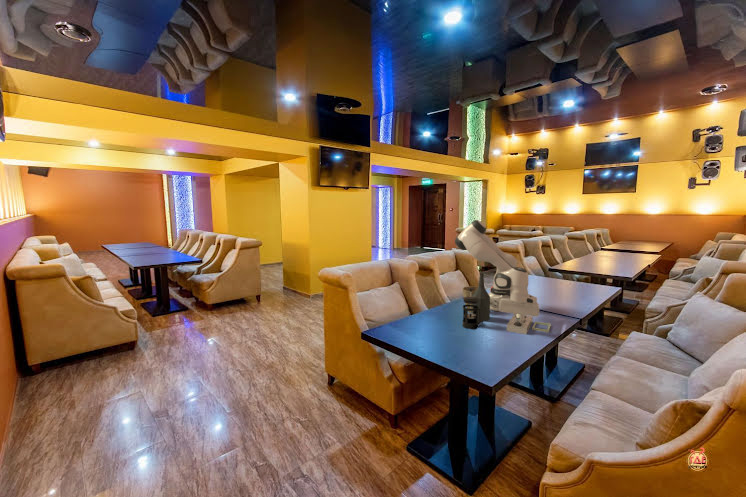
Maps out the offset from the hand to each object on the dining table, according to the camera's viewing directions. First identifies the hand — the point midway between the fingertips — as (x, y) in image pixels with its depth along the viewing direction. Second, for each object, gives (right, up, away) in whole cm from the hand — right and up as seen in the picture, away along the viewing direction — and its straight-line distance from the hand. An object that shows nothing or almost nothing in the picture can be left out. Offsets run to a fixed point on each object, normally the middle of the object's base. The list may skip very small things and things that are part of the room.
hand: (518, 321), depth 177 cm
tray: (+15, -6, +4) cm, 17 cm away
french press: (-22, -6, +13) cm, 26 cm away
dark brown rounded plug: (0, -4, 0) cm, 4 cm away
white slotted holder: (+4, -6, +7) cm, 10 cm away
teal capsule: (+4, -4, +7) cm, 9 cm away
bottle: (-13, -5, +22) cm, 26 cm away
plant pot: (-12, -3, +40) cm, 42 cm away
